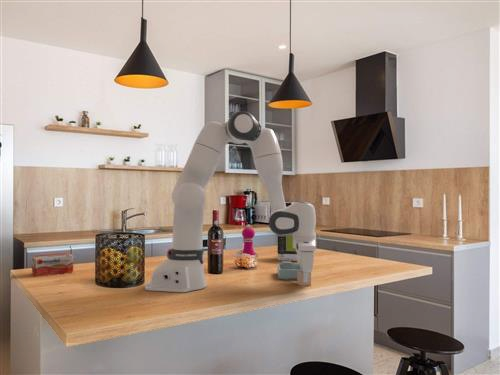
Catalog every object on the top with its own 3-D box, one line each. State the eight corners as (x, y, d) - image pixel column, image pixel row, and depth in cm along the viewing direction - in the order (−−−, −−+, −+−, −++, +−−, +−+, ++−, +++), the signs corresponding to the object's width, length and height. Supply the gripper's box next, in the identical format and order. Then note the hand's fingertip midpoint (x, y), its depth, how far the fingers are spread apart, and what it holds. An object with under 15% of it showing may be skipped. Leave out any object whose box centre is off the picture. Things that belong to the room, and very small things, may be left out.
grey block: (282, 274, 172) (282, 262, 172) (281, 272, 176) (281, 261, 176) (291, 274, 172) (291, 262, 172) (290, 272, 176) (290, 261, 176)
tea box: (308, 258, 217) (308, 230, 217) (306, 262, 207) (306, 232, 207) (280, 257, 220) (280, 230, 221) (277, 260, 211) (277, 231, 211)
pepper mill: (254, 268, 188) (254, 225, 188) (238, 268, 189) (239, 225, 189) (257, 266, 195) (257, 224, 195) (242, 265, 196) (242, 223, 197)
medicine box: (34, 277, 168) (34, 258, 168) (31, 274, 174) (31, 255, 175) (73, 273, 177) (73, 254, 177) (69, 270, 183) (69, 252, 183)
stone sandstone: (301, 286, 154) (301, 272, 154) (297, 283, 158) (297, 270, 158) (311, 285, 155) (311, 272, 155) (306, 283, 159) (307, 270, 159)
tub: (279, 279, 165) (279, 269, 166) (277, 273, 178) (277, 263, 178) (309, 279, 165) (309, 269, 165) (305, 273, 178) (305, 264, 178)
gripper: (293, 240, 168) (293, 274, 167) (298, 247, 147) (298, 285, 147) (308, 240, 167) (308, 274, 167) (316, 247, 147) (316, 285, 147)
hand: (304, 279), depth 157 cm, fingers open, 7 cm apart
